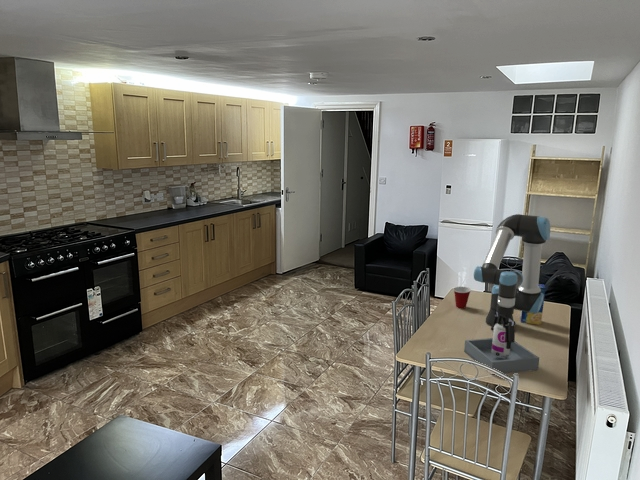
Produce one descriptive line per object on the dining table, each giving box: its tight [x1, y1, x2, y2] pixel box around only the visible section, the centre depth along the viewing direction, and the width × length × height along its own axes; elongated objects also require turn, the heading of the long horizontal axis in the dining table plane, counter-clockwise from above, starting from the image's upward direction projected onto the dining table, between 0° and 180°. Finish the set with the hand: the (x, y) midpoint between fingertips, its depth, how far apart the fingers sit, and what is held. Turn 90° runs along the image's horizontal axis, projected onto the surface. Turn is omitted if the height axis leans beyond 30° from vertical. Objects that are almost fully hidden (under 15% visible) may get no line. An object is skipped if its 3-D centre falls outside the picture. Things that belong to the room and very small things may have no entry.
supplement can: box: [491, 323, 510, 358], centre depth 228 cm, size 8×8×15 cm
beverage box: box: [519, 283, 547, 325], centre depth 279 cm, size 7×11×22 cm, turn 72°
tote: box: [463, 337, 540, 374], centre depth 230 cm, size 24×24×6 cm
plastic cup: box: [452, 286, 472, 309], centre depth 301 cm, size 11×11×12 cm
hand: (500, 350), depth 229 cm, fingers closed on supplement can, 8 cm apart
